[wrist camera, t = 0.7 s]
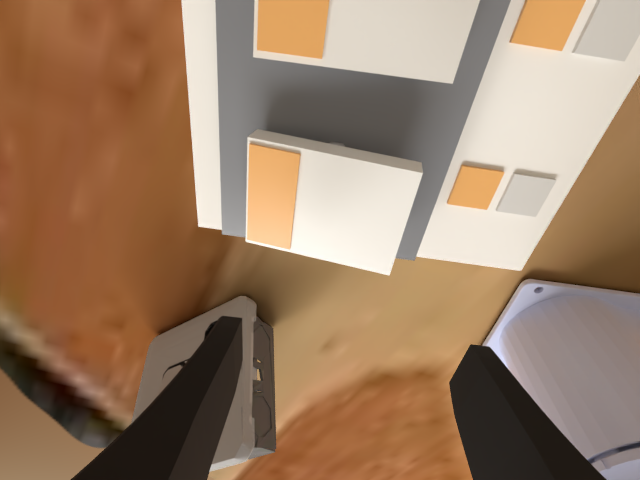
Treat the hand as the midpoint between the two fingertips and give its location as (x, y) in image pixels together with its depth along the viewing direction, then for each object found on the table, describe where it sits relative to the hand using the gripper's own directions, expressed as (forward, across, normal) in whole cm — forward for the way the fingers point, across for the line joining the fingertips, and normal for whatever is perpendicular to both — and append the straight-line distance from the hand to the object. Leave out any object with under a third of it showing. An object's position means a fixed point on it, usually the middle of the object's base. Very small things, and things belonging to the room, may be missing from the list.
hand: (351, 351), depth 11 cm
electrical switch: (+10, +7, +12) cm, 17 cm away
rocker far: (+5, +1, -3) cm, 6 cm away
